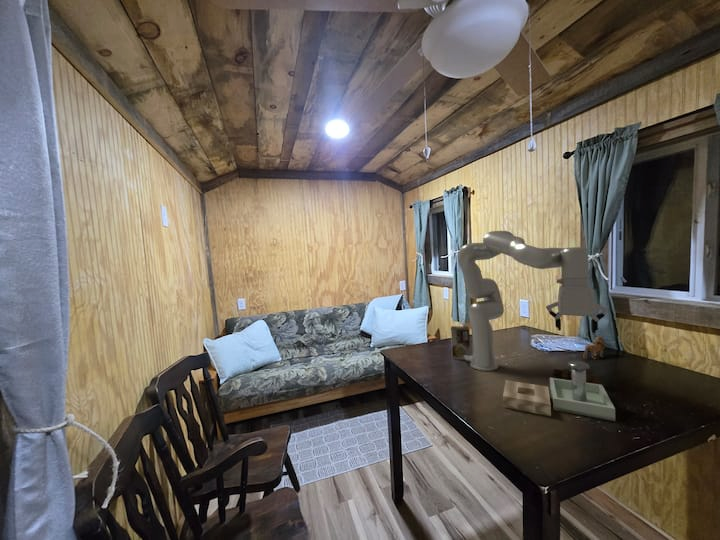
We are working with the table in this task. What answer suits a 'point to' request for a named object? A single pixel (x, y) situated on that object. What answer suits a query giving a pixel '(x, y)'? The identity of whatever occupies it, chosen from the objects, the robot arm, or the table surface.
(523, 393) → the socket block
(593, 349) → the lion figurine
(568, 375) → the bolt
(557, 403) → the tray
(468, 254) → the robot arm
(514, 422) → the table surface
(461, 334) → the coffee box
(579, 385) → the pin
